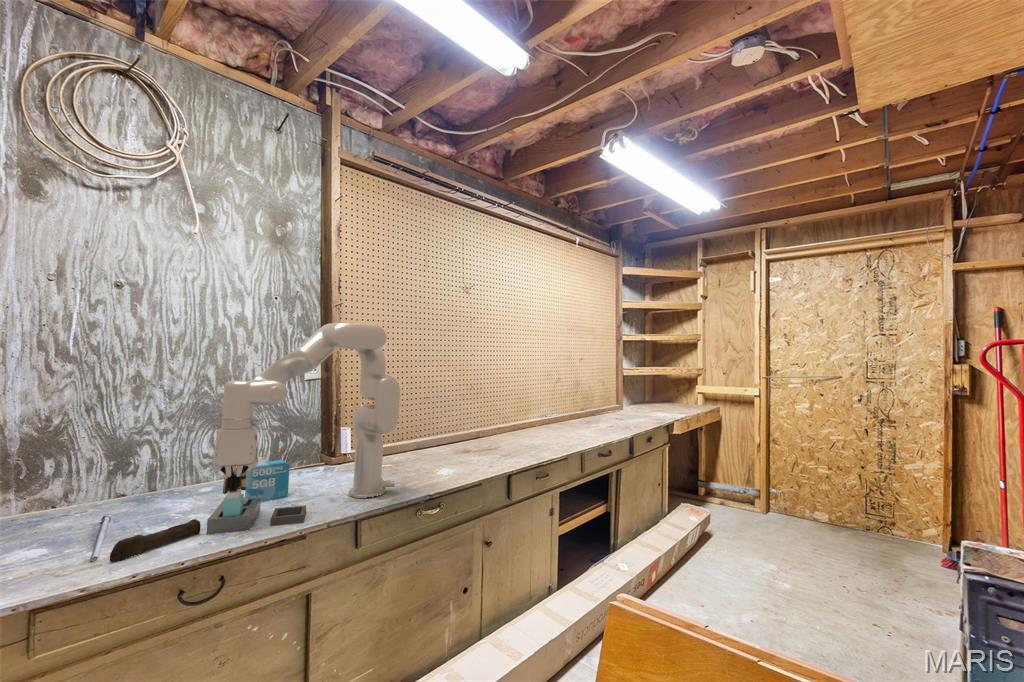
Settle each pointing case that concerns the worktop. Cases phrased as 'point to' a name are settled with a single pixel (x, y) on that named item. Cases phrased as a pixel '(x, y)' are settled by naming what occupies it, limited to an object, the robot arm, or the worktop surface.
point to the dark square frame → (288, 515)
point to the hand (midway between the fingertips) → (233, 489)
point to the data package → (267, 480)
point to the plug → (233, 503)
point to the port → (234, 518)
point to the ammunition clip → (243, 480)
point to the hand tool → (152, 540)
